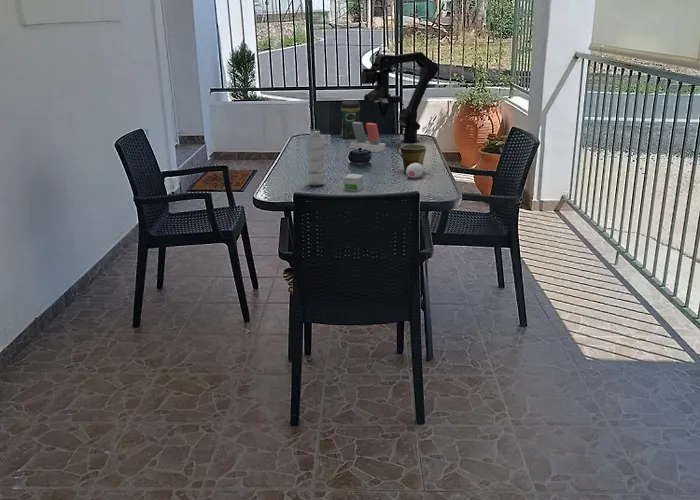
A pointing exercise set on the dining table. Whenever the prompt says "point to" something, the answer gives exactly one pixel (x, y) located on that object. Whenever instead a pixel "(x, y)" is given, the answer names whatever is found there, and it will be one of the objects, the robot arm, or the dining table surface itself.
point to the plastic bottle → (315, 159)
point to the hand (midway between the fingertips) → (382, 117)
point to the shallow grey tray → (368, 146)
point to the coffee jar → (349, 117)
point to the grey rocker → (359, 131)
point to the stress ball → (414, 170)
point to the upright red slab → (373, 133)
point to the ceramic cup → (412, 154)
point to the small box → (353, 182)
